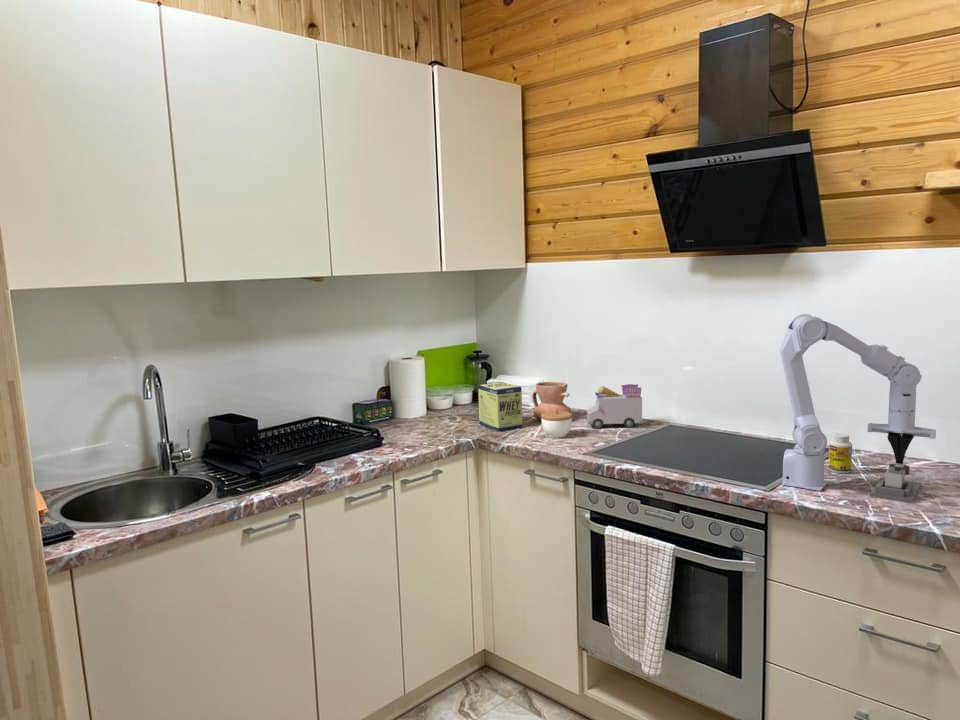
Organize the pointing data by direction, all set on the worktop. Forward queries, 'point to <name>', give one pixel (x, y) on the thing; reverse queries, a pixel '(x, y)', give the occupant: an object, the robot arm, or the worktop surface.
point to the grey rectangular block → (894, 478)
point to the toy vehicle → (616, 407)
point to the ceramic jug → (550, 398)
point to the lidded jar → (556, 423)
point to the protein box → (500, 406)
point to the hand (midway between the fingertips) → (899, 462)
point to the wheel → (904, 467)
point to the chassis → (896, 491)
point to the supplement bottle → (840, 454)
